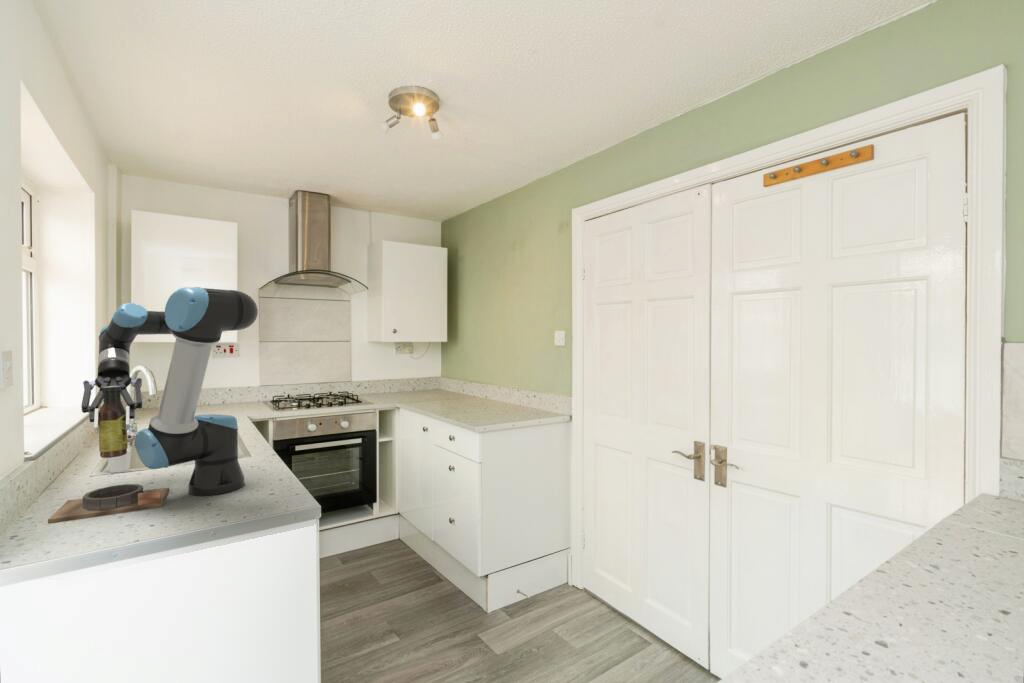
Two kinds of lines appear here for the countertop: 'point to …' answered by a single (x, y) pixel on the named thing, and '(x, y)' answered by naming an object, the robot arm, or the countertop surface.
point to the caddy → (110, 502)
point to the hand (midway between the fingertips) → (112, 428)
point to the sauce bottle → (112, 424)
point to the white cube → (120, 462)
